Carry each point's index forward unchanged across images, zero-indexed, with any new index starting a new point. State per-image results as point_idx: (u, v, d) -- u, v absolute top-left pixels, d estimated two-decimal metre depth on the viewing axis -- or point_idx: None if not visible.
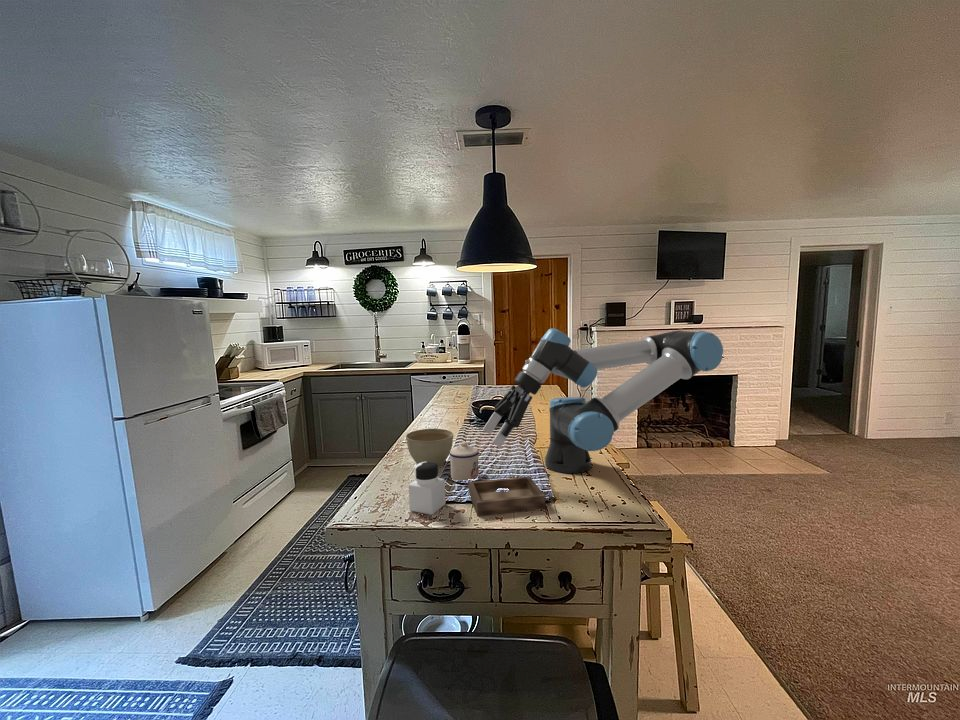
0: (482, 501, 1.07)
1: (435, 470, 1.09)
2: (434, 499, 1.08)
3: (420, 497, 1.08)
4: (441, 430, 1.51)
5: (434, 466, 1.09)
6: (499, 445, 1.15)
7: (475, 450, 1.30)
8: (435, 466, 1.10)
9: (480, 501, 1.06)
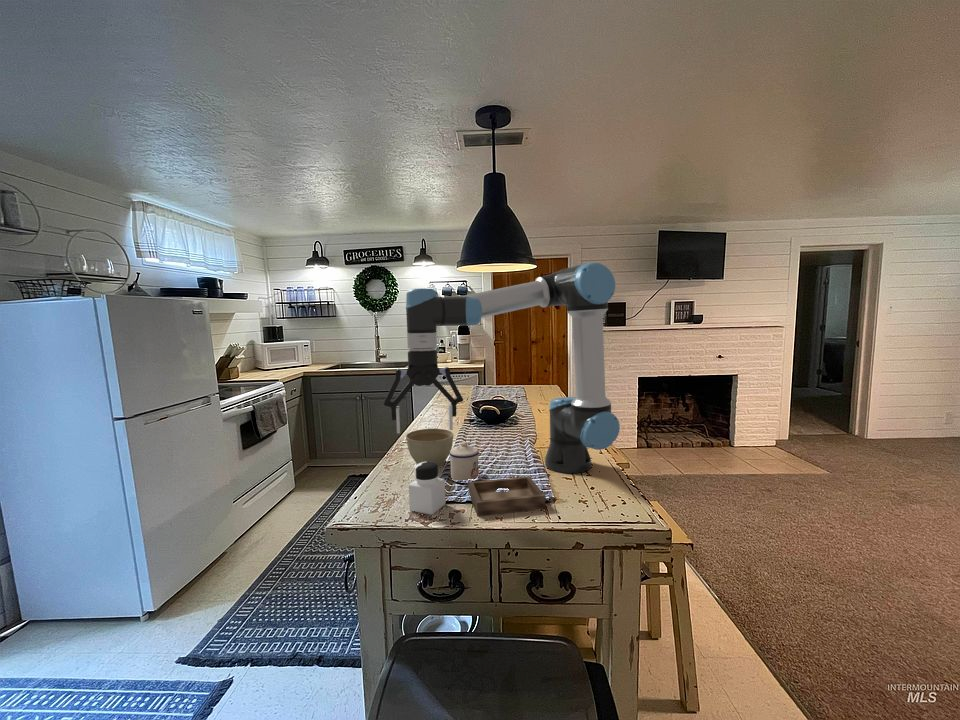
0: (482, 501, 1.07)
1: (435, 470, 1.09)
2: (434, 499, 1.08)
3: (420, 497, 1.08)
4: (441, 430, 1.51)
5: (434, 466, 1.09)
6: None
7: (475, 450, 1.30)
8: (435, 466, 1.10)
9: (480, 501, 1.06)
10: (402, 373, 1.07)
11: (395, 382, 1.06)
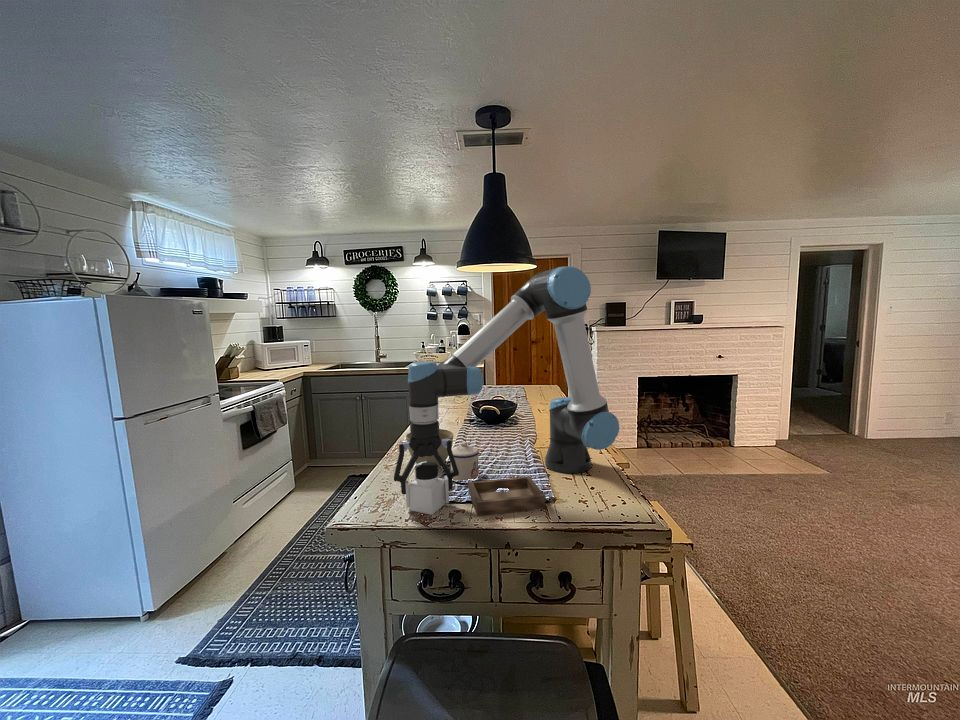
0: (482, 501, 1.07)
1: (435, 470, 1.09)
2: (434, 499, 1.08)
3: (420, 497, 1.08)
4: (441, 430, 1.51)
5: (434, 466, 1.09)
6: None
7: (475, 450, 1.30)
8: (435, 466, 1.10)
9: (480, 501, 1.06)
10: (405, 446, 1.09)
11: (400, 457, 1.08)
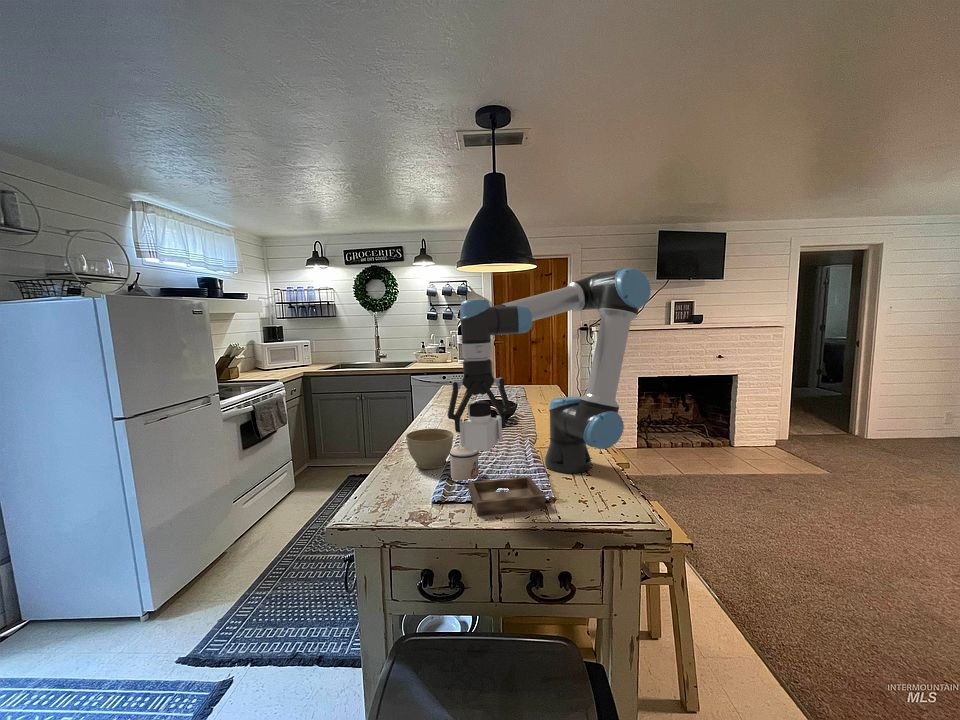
0: (482, 501, 1.07)
1: (489, 407, 1.10)
2: (488, 436, 1.08)
3: (475, 434, 1.09)
4: (441, 430, 1.51)
5: (487, 404, 1.10)
6: None
7: (475, 450, 1.30)
8: (488, 404, 1.10)
9: (480, 501, 1.06)
10: (458, 384, 1.09)
11: (454, 394, 1.09)
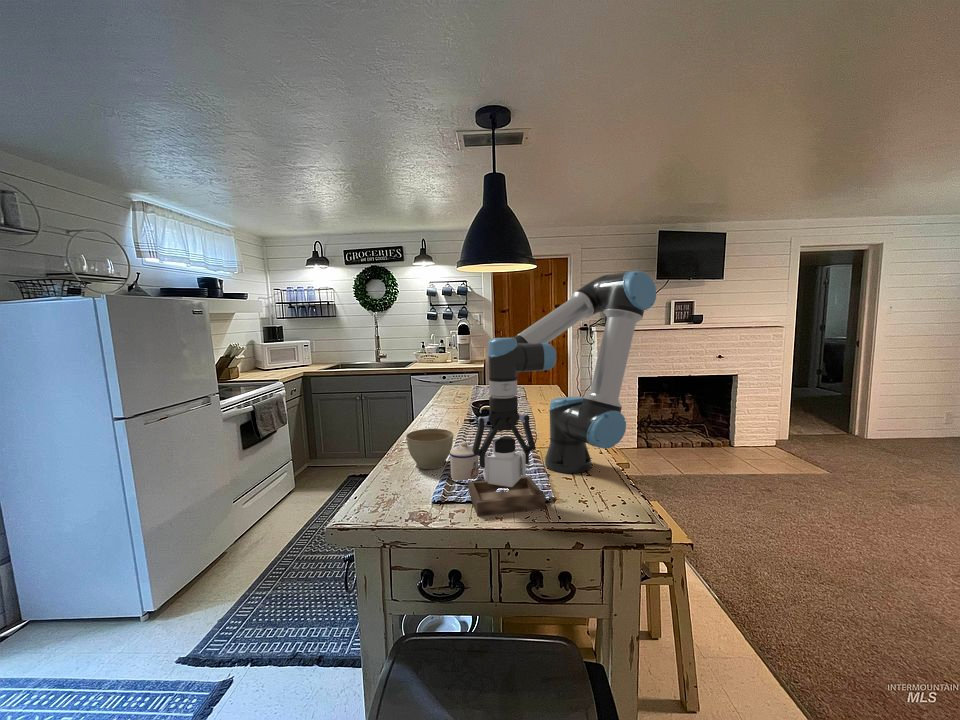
0: (482, 501, 1.07)
1: (514, 444, 1.12)
2: (513, 472, 1.10)
3: (500, 470, 1.10)
4: (441, 430, 1.51)
5: (512, 440, 1.12)
6: None
7: None
8: (513, 440, 1.12)
9: (480, 501, 1.06)
10: (485, 420, 1.11)
11: (480, 431, 1.10)
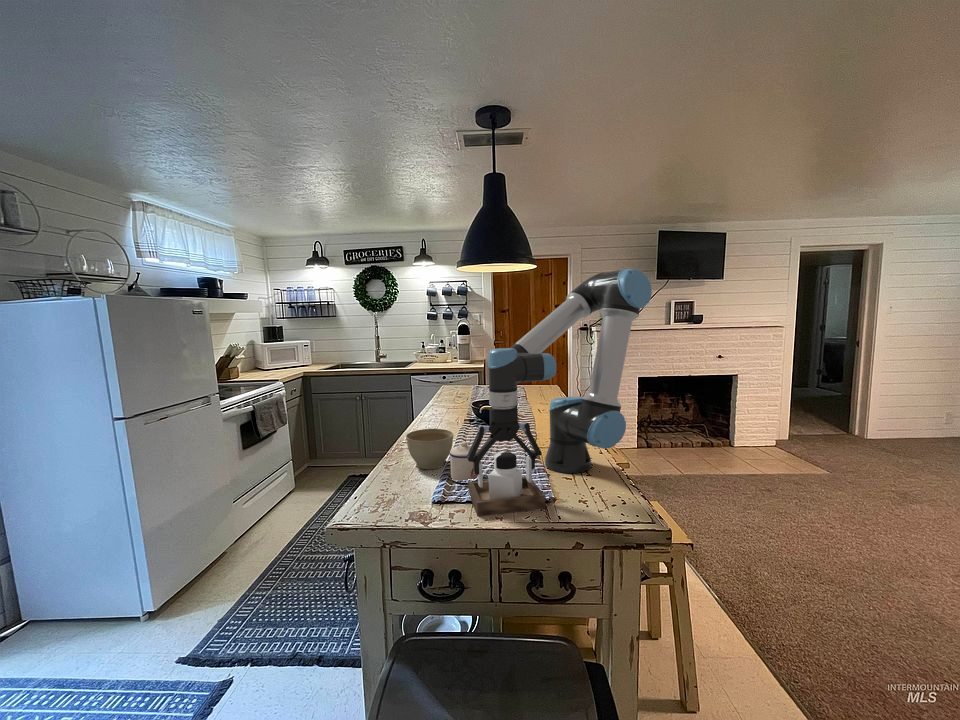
0: (482, 501, 1.07)
1: (515, 460, 1.12)
2: (515, 488, 1.11)
3: (501, 486, 1.11)
4: (441, 430, 1.51)
5: (514, 456, 1.12)
6: None
7: None
8: (514, 456, 1.13)
9: (480, 501, 1.06)
10: (485, 429, 1.11)
11: (479, 439, 1.10)
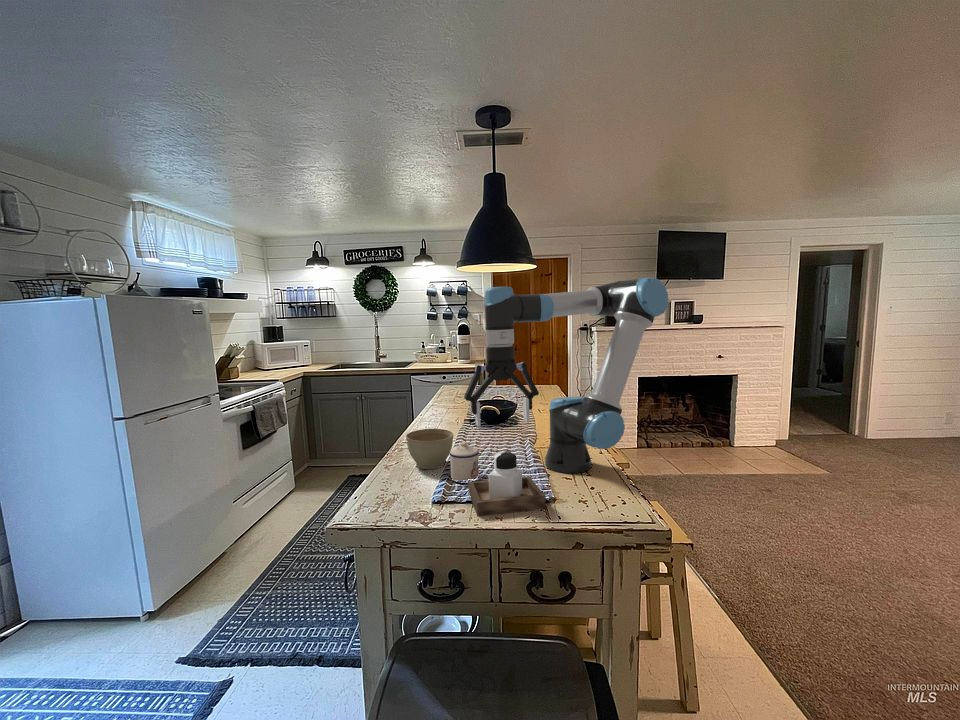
0: (482, 501, 1.07)
1: (515, 460, 1.12)
2: (515, 488, 1.11)
3: (501, 486, 1.11)
4: (441, 430, 1.51)
5: (514, 456, 1.12)
6: None
7: (475, 450, 1.30)
8: (514, 456, 1.13)
9: (480, 501, 1.06)
10: (482, 369, 1.11)
11: (476, 377, 1.10)
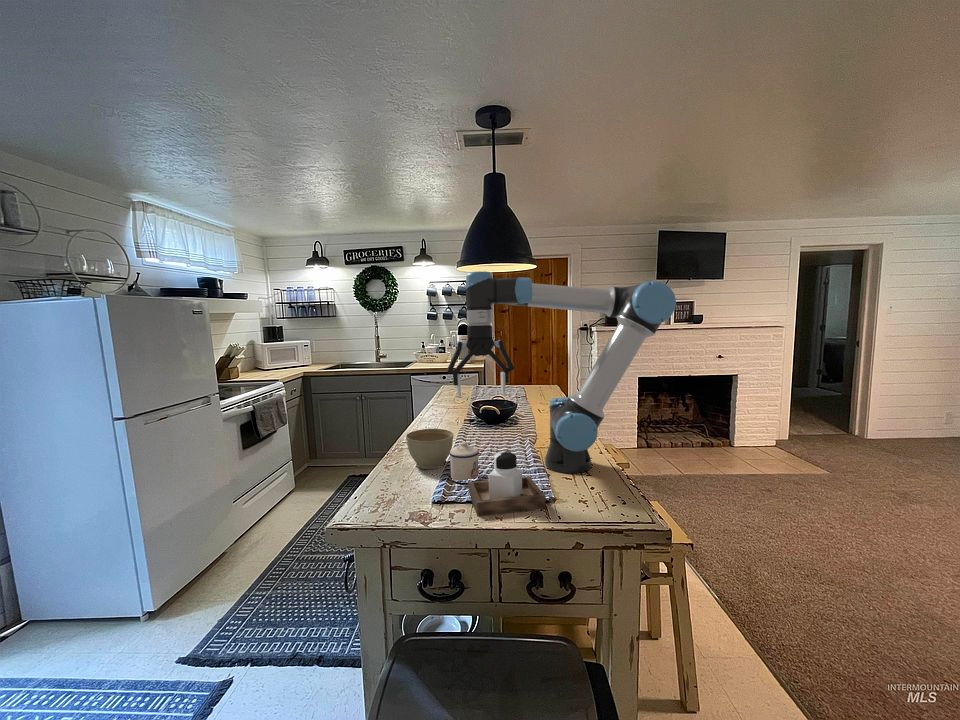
0: (482, 501, 1.07)
1: (515, 460, 1.12)
2: (515, 488, 1.11)
3: (501, 486, 1.11)
4: (441, 430, 1.51)
5: (514, 456, 1.12)
6: None
7: (475, 450, 1.30)
8: (514, 456, 1.13)
9: (480, 501, 1.06)
10: (462, 345, 1.24)
11: (457, 352, 1.24)
